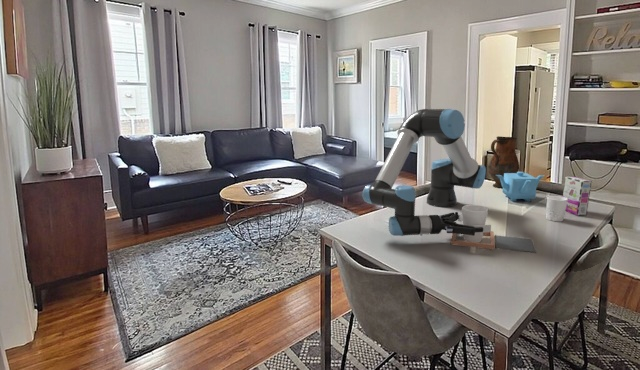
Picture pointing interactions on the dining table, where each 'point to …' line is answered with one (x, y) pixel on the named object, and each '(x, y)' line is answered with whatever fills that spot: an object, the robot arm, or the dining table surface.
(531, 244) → the rubber mat
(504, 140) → the pitcher
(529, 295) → the dining table surface
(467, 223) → the foam cup
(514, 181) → the teakettle
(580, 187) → the candy bar box
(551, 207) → the white cup
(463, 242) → the terracotta frame
